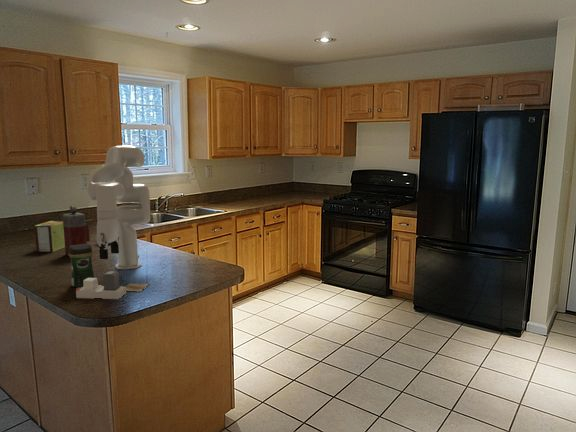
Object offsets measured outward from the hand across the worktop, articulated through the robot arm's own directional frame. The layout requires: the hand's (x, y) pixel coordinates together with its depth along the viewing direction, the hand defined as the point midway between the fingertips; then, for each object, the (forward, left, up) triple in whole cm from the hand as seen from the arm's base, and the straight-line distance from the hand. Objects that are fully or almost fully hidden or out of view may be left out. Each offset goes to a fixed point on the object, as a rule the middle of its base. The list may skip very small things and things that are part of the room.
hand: (109, 256), depth 180 cm
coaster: (-10, +5, -17) cm, 21 cm away
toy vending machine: (-64, -50, -18) cm, 83 cm away
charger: (0, 0, -14) cm, 14 cm away
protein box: (-75, -72, -18) cm, 105 cm away
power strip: (0, -5, -17) cm, 18 cm away
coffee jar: (-13, -20, -18) cm, 30 cm away
